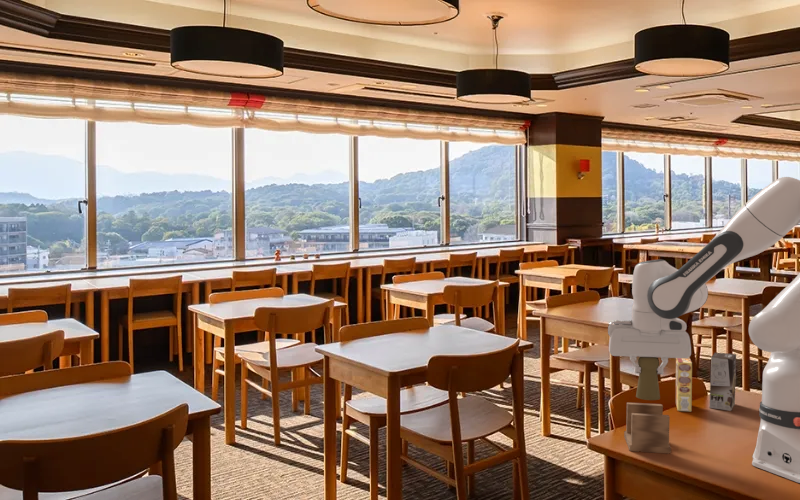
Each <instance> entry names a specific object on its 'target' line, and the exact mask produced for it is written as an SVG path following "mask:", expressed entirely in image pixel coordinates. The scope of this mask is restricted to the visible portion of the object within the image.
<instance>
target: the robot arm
mask: <svg viewBox="0 0 800 500" xmlns="http://www.w3.org/2000/svg"><path fill="white" fill-rule="evenodd" d="M799 224H800V179H797V178H795V177H790V176H781V177H779V178H777V179H775V180H774V181H772V182H771V183H769V184H768V185H767V186H765V187H763V188H762V189H761V190H759V191H758V192H757V193H756V194H754V196H752V197H750V199H749V200H748V201H747V202H745V204H743V206H741V207H740V208H739V209H738V210H737V211H736V212H735V214H733V216H732V217H731V218H730V219H729V220H728V221H727V223H725V225H724V226H723V227H722V228H721V229H720V230H719V231H718V232H717V234H716V235H715V236H714V237H713V238H712V239H711V240H710V241H709V242H708V243H707V244H706V245H705V246H704V247H703V248H702V249H700V251H698V252H697V253H696V254H695V255H694V256H692V258H690V259H689V260H688V261H687V262H686V263H685V264H683V265H682V266H681V267H680V268H678V269H677V267H674V266H673V265H671V264H669V262H667V261H666V260H664V259H651V260H645V261H641V262H638V263H637V264H636V265H635V266H634V270H633V272H632V273H633V274H632V283H631V288H632V289H631V294H632V298H633V303H632V306H631V320H618V319H617V320H613V321H611V322H610V323H609V324H608V327H607V334H608V336H609V340H608V341H609V342H608V352H609V354H610V355H611V356H612V357H613V356H614V357H629V360H630V361H631V363H632V365H633V366H634V368H633V370H634V371H633V372H634V374H639V373H641V371H640V370H641V367H639V365H637V363H636V361H637V360H638V359H637V358H639V357H657V358H661V359H660V360H661V361H662V362H661V364H659V366H658V368H657V375H664V368H666V366H667V365H668V363H669V359H676V358H690V357H691V355H692V345H691V338H690V335H689V333H688V332H687V331H686V330H687V327H688V326H687V322H685V321H684V320H683V319H680V317H681V316H683V315H685V314H688V313H691V312H695V311H696V310H698V309H700V308H702V307H703V306H704V305H705V304H706V302H707V301H708V298H709V289H708V286H707V283H708V282H709V281H710V280H711V279H712V278H713V277H715V276H716V275H717V274H718V273H720V272H721V271H722V270H724V269H725V268H727V267H729V266H730V265H732V264H734V263H737V262H740V261H742V260H744V259H748V258H750V257H754V256H756V255H759V254H760V253H761V254H762V253H763V252H764V251H766V250H768V249H770V248H771V247H773V246H774V245H775V244H777V243H778V242H779V241H780V240H782V239H783V238H784V237H785V236H786V235H787V234H788V233H789V232H790V231H792V229H794V228H795V226H798V225H799ZM748 335H749V338H750V340H751V342H752V343H753V344H754V346H755V347H757V348H758V349H759V350H761V351H764V352H766V353H767V352H768V353H770V356H769V358H768V361H767V363H766V365H765V366H764V369H763V371H762V384H761V389H762V390H761V401H760V403H759V408H758V412H759V415H758V417H760V424H759V428H758V432H757V439H756V444H755V445H756V446H755V449H754V450H753V451H754V452H753V454H752V461H751V465H752V466H753V467H755V468H759V469H761V470H764V471H766V472H769V473H771V474H774V475H777V476H779V477H783V478H785V479H787V480H790V481H792V482H796V483H798V484H800V272H799V273H798V274H797V276H795V278H794V279H793V280H792V281H791V282H790V283H789V284H788V285H786V286H785V288H783V289H782V290H781V291H780V292H779V293H778V294H777V295H776V296H775V297H774V298H773V299H772V300H770V302H769V303H768V304H767V305H766V306H765V307H764V308H763V309H762V310H761V311H759V312H758V313H757V314H756V315H754V316H753V317H752V318H751V320H750V322H749V324H748Z"/></svg>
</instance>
